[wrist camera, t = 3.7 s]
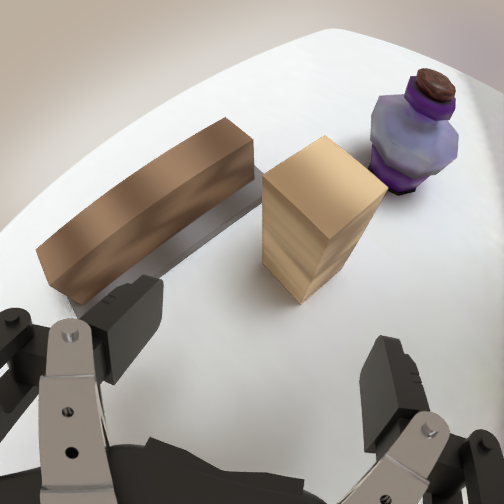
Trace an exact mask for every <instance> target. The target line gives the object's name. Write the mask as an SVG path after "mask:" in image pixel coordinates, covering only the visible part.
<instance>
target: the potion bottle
mask: <svg viewBox="0 0 504 504" xmlns="http://www.w3.org/2000/svg"><path fill="white" fill-rule="evenodd" d="M455 92H456V90H455V86H454V85H453V84H452V83H451V82H450V80H449V79H448V78H447V77H446V76H444V75H443V74H441V73H439V72H437V71H434V70H431V69H427V68H422V69H420V70H418V72H417V76H410V79H409V82H408V85H407V87H406V91H405V94H401V95H384V96H379V98H378V101H377V103H376V105H375V108H374V110H373V112H372V115H371V135H370V140H371V142H372V143H373V144H372V154H371V163H370V165H369V168H368V169H369V171H370V172H371V173H372V174H373V175H375V176H376V177H377V178H378V179H379V180H380V181H381V182H382V183H384V184H385V185H386V186H387V187H388V191H390V192H392V193H394V194H396V195H398V196H399V195H403V194H407V193H411V192H415V190H416V187H417V186H418V185H419V184H421V183H422V182H423V181H424V180H426V179H427V178H428V177H429V176H430V175H436V174H437V173H439V172H440V171H441V170H442V169H444V168H445V167H446V166H447V165H448V164H450V163H451V162H452V161H453V160H454V159H456V158H457V151H458V136H459V135H458V133H457V132H456V131H455V129H454V128H453V127H452V126H451V124H450V123H449V122H448V121H447V120H450V118H451V116H452V114H453V112H454V110H455V101H456V99H455V97H454V96H455Z"/></svg>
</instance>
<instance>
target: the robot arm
mask: <svg viewBox="0 0 504 504" xmlns="http://www.w3.org/2000/svg"><path fill="white" fill-rule="evenodd" d="M163 286H164V285H163V281H162V280H161V279H158V278H154V277H151V276H148V275H145V274H143V275H141V276H140V277H139V278H138V279H137V280H135V281H134V282H133V283H132V284H130V283H126V284H123V285H121V286H118V287H116V288H114V289H113V290H112V291H111V292H110V293H108V295H107V296H105V297H104V298H103V299H101V302H100V301H99V302H98V303H97V304H95V305H94V306H93V307H92V308H91V309H90V310H88V311H87V312H86V313H85V314H84V315H83V316H82V317H80V318H79V319H73V318H70V319H63V320H60V321H58V322H56V323H55V324H54V325H52V327H51V328H49V327H44V326H39V325H35V324H32V321H31V316H30V314H29V313H28V312H27V311H26V310H24V309H21V308H10V309H6V310H4V311H2V312H0V369H1V368H2V367H3V366H4V365H5V364H6V363H7V364H8V367H9V369H8V370H7V371H6V372H5V373H4V375H3V376H2V377H1V378H0V442H1V441H2V440H3V438H4V437H5V436H6V435H7V433H8V432H9V431H10V429H11V428H12V427H13V425H14V424H15V423H16V422H17V420H18V419H19V418H20V417H21V415H22V414H23V413H24V411H25V410H26V409H27V408H28V407H29V405H30V404H31V403H32V402H33V400H34V399H35V398H36V397H37V395H38V394H39V449H40V463H41V467H38V468H34V469H30V470H26V471H22V472H17V473H13V474H8V475H4V476H0V504H327V503H326V502H324V501H323V500H322V499H320V498H319V497H317V496H315V495H313V494H311V493H309V492H307V491H305V490H303V487H304V479H298V478H292V477H286V476H281V475H276V474H271V473H261V472H230V471H223V470H220V469H218V468H216V467H214V466H213V465H211V464H209V463H207V462H205V461H204V460H202V459H200V458H198V457H197V456H195V455H193V454H191V453H190V452H188V451H186V450H184V449H181V448H178V447H175V446H172V445H170V444H167V443H164V442H162V441H159V440H157V439H154V438H151V437H150V438H149V439H148V441H147V443H146V445H145V446H143V445H133V444H122V445H113V446H112V445H111V441H110V437H109V433H108V428H107V423H106V417H105V411H104V405H103V399H102V392H101V387H100V384H101V383H102V382H103V381H105V382H107V383H110V384H112V385H115V384H116V383H117V381H118V380H119V379H120V377H121V376H122V375H123V373H124V372H125V371H126V369H127V368H128V367H129V366H130V364H131V363H132V362H133V360H134V359H135V358H136V356H137V355H138V354H139V353H140V351H141V350H142V349H143V347H144V346H145V345H146V344H147V342H148V341H149V340H150V339H151V337H152V336H153V335H154V333H155V332H156V331H157V329H158V327H159V325H160V322H161V319H162V306H163ZM421 383H422V382H421V378H420V376H419V372H418V369H417V366H416V364H415V362H414V361H413V360H412V359H411V357H410V356H409V355H408V354H404V351H403V348H402V345H401V342H400V340H399V339H396V338H392V337H387V336H382V335H380V336H379V337H378V338H377V339H376V341H375V343H374V345H373V348H372V350H371V352H370V354H369V356H368V358H367V360H366V362H365V364H364V366H363V368H362V370H361V374H360V380H359V384H360V395H361V406H362V419H363V435H364V452H366V453H376V462H375V463H374V465H373V466H372V467H371V468H370V469H369V470H368V471H367V473H366V474H365V475H364V476H363V477H362V478H361V479H360V480H359V481H358V482H357V483H356V485H355V486H354V487H353V488H352V489H351V490H350V491H349V492H348V493H347V494H346V495H345V496H344V497H343V498H342V499H341V500H340V501H339V502H338V503H337V504H418V502H419V501H420V499H421V497H422V496H423V504H463V499H462V492H461V489H463V488H464V487H465V486H466V489H467V496H468V504H504V458H503V454H502V451H501V448H500V444H499V442H498V440H497V439H496V437H495V436H494V435H493V434H491V433H490V432H488V431H486V430H482V429H479V430H475V431H474V432H473V433H472V434H471V435H470V436H469V437H468V438H467V439H466V438H463V437H460V436H457V435H454V434H451V433H450V431H449V427H448V425H447V423H446V422H445V421H444V419H442V418H441V417H440V416H439V415H437V414H435V413H432V412H430V409H429V405H428V402H427V398H426V395H425V391H424V388H423V385H422V384H421Z"/></svg>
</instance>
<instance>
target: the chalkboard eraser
mask: <svg viewBox="0 0 504 504" xmlns="http://www.w3.org/2000/svg"><path fill="white" fill-rule="evenodd" d="M262 175H263V173H262V172H261V171H260V170H259V169H258V168H257V167H256V166H254V147H253V139H252V138H251V137H250V136H248V135H247V134H246V133H245V132H243V131H242V130H241V129H240V128H238V127H237V126H236V125H235V124H233V123H232V122H231V121H230V120H228V119H227V118H226V117H225V118H223V119H221V120H219V121H217V122H216V123H214V124H212V125H210V126H209V127H207V128H205V129H203V130H202V131H200V132H198V133H196V134H195V135H193V136H191V137H190V138H188V139H186V140H185V141H183V142H181V143H180V144H178V145H177V146H175V147H173V148H172V149H170V150H169V151H167V152H165V153H164V154H162V155H161V156H159V157H158V158H156V159H154V160H153V161H151V162H150V163H148V164H147V165H145V166H144V167H142V168H141V169H139V170H138V171H136V172H135V173H134V174H132V175H131V176H129V177H128V178H126V179H125V180H123V181H122V182H121V183H119V184H118V185H116V186H115V187H114V188H112V189H111V190H109V191H108V192H107V193H105V194H104V195H103V196H101V197H100V198H99V199H97V200H96V201H95V202H93V203H92V204H91V205H89V206H88V207H87V208H85V209H84V210H83V211H82V212H80V213H79V214H78V215H77V216H75V217H74V218H73V219H72V220H70V221H69V222H68V223H67V224H65V225H64V226H63V227H62V228H60V229H59V230H58V231H57V232H56V233H54V234H53V235H52V236H51V237H50V238H49V239H47V240H46V241H45V242H44V243H43V244H42V245H40V246H39V247H38V248H37V249H36V252H37V255H38V258H39V261H40V263H41V266H42V268H43V271H44V274H45V276H46V279H47V281H48V284H49V286H51V287H53V288H54V289H56V290H58V291H59V292H61V293H63V294H64V295H66V296H67V297H68V300H69V302H70V304H71V306H72V308H73V310H74V312H75V314H76V316H77V318H78V319H79V318H80V317H82V316H83V315H84V314H85V313H86V312H87V311H88V310H90V309H91V308H92V307H93V306H94V305H95V304H97V303H98V302H99V301H100V302H101V299H103V298H104V297H105V296H107V295H108V293H110V292H111V291H112V290H113V289H114V288H116V287H118V286H121V285H123V284H126V283H130V284H132V283H133V282H134V281H135V280H137V279H138V278H139V277H140V276H141V275H143V274H145V275H148V276H151V277H154V278H160V277H161V276H162V275H164V274H165V273H166V272H168V271H169V270H170V269H172V268H173V267H174V266H176V265H177V264H178V263H180V262H181V261H182V260H184V259H185V258H186V257H188V256H189V255H190V254H192V253H193V252H194V251H196V250H197V249H198V248H200V247H201V246H203V245H204V244H205V243H207V242H208V241H209V240H211V239H212V238H213V237H215V236H216V235H218V234H219V233H220V232H222V231H223V230H224V229H226V228H227V227H229V226H230V225H231V224H233V223H234V222H235V221H237V220H238V219H240V218H241V217H242V216H244V215H245V214H247V213H248V212H249V211H251V210H252V209H254V208H255V207H256V206H258V205H259V204H261V203H262Z"/></svg>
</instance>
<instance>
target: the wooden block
mask: <svg viewBox="0 0 504 504" xmlns="http://www.w3.org/2000/svg"><path fill="white" fill-rule="evenodd" d="M387 190H388V187H387V186H386V185H385V184H384V183H382V182H381V181H380V180H379V179H378V178H377V177H376V176H375V175H373V174H372V173H371V172H370V171H369V170H368V169H366V168H365V167H364V166H363V165H362V164H360V163H359V162H358V161H357V160H356V159H354V158H353V157H352V156H351V155H350V154H348V153H347V152H346V151H345V150H343V149H342V148H341V147H340V146H338V145H337V144H336V143H334V142H333V141H332V140H331V139H329V138H328V137H327V136H325V135H324V136H323V137H321V138H320V139H318V140H316V141H315V142H313V143H312V144H310V145H308V146H307V147H305V148H304V149H302V150H300V151H299V152H297V153H296V154H294V155H293V156H291V157H289V158H288V159H286V160H285V161H283V162H282V163H280V164H279V165H277V166H276V167H274V168H273V169H271V170H269V171H268V172H266V173H265V174H263V175H262V263H263V264H264V265H265V266H266V267H267V268H268V269H269V271H270V272H271V273H272V274H273V275H274V276H275V277H276V278H277V279H278V280H279V281H280V283H281V284H282V285H283V286H284V287H285V288H286V289H287V290H288V291H289V292H290V293H291V295H292V296H293V297H294V298H295V299H296V300H297V301H298V302H299V303H300V304H302V303H303V302H304V301H306V300H307V299H308V298H309V297H310V296H311V295H313V294H314V293H315V292H316V291H317V290H318V289H319V288H320V287H322V286H323V285H324V284H325V283H326V282H327V281H328V280H329V279H331V278H332V277H333V276H334V275H335V274H336V273H337V272H338V271H339V270H341V269H342V267H343V266H344V264H345V262H346V261H347V259H348V257H349V256H350V254H351V252H352V251H353V249H354V247H355V246H356V244H357V242H358V241H359V239H360V237H361V236H362V234H363V232H364V231H365V229H366V227H367V225H368V224H369V222H370V220H371V218H372V217H373V215H374V213H375V211H376V210H377V208H378V206H379V204H380V202H381V201H382V199H383V197H384V195H385V193H386V192H387Z"/></svg>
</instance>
